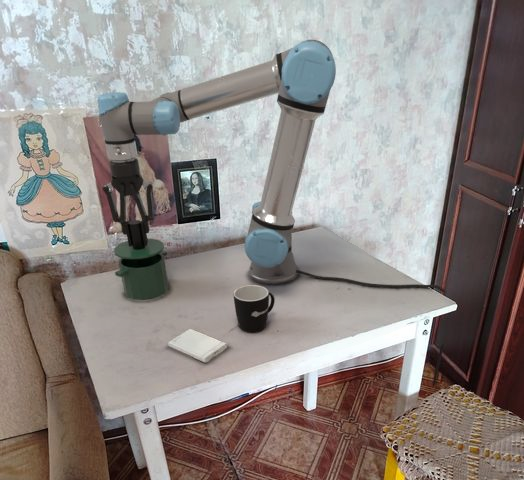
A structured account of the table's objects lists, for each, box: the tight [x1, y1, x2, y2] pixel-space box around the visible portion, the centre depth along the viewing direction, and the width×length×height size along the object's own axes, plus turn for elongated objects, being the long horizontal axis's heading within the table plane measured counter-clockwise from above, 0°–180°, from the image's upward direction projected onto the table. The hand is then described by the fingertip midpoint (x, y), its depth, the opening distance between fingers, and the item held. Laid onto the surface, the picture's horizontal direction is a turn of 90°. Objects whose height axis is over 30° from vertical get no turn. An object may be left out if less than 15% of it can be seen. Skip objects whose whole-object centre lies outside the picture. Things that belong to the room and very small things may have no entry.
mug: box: [233, 284, 276, 334], centre depth 130 cm, size 12×9×10 cm
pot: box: [114, 250, 170, 301], centre depth 148 cm, size 13×18×10 cm
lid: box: [113, 219, 165, 259], centre depth 142 cm, size 14×14×9 cm
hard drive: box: [167, 328, 228, 364], centre depth 124 cm, size 2×8×12 cm
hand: (138, 244), depth 143 cm, fingers closed on lid, 4 cm apart
